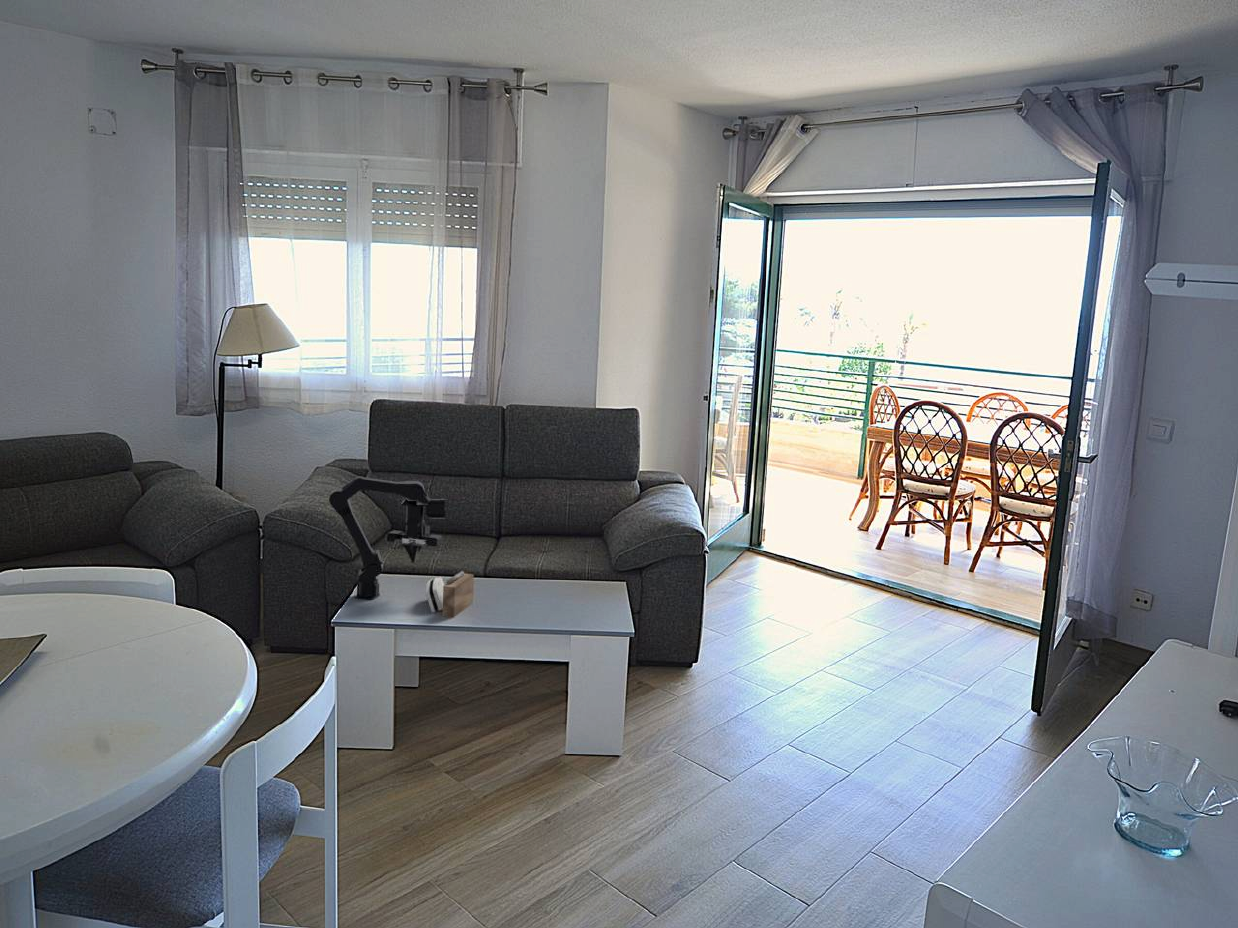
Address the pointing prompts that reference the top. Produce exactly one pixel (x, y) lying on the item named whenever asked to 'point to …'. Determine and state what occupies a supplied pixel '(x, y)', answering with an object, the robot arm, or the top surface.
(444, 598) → the tan flat boxy piece
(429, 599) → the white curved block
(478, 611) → the top surface
